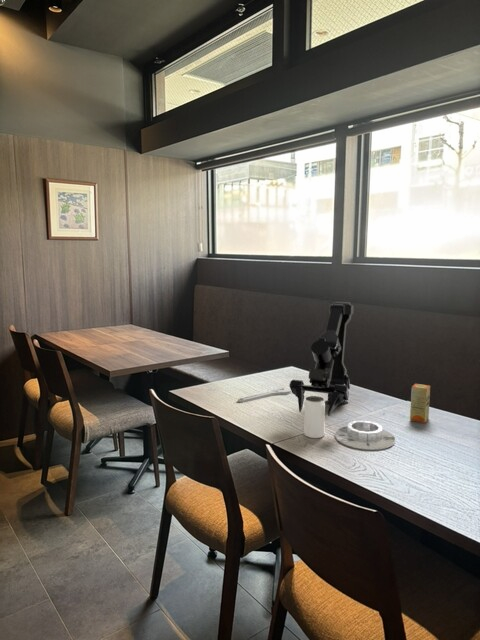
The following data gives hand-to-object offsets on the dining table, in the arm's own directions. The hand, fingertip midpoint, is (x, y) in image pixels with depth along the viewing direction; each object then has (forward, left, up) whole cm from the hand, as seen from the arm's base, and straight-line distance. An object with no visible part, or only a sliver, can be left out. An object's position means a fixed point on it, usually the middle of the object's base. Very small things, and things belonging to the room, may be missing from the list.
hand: (314, 413), depth 149 cm
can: (-1, 0, -8) cm, 8 cm away
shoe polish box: (-39, +14, -8) cm, 42 cm away
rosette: (-11, +12, -7) cm, 17 cm away
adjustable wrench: (-15, -41, -8) cm, 44 cm away
